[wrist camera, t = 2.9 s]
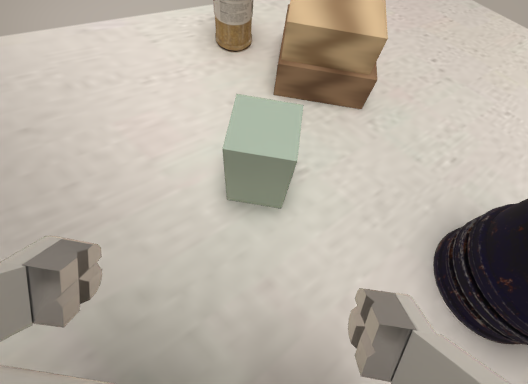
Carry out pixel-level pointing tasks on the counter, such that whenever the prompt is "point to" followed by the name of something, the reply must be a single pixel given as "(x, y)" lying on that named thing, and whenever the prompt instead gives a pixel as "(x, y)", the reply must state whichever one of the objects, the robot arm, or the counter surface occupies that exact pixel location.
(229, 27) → the sprinkles bottle
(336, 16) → the oak block
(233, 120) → the sage block
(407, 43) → the counter surface
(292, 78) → the walnut block
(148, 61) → the counter surface
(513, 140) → the counter surface
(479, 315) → the storage jar
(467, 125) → the counter surface
